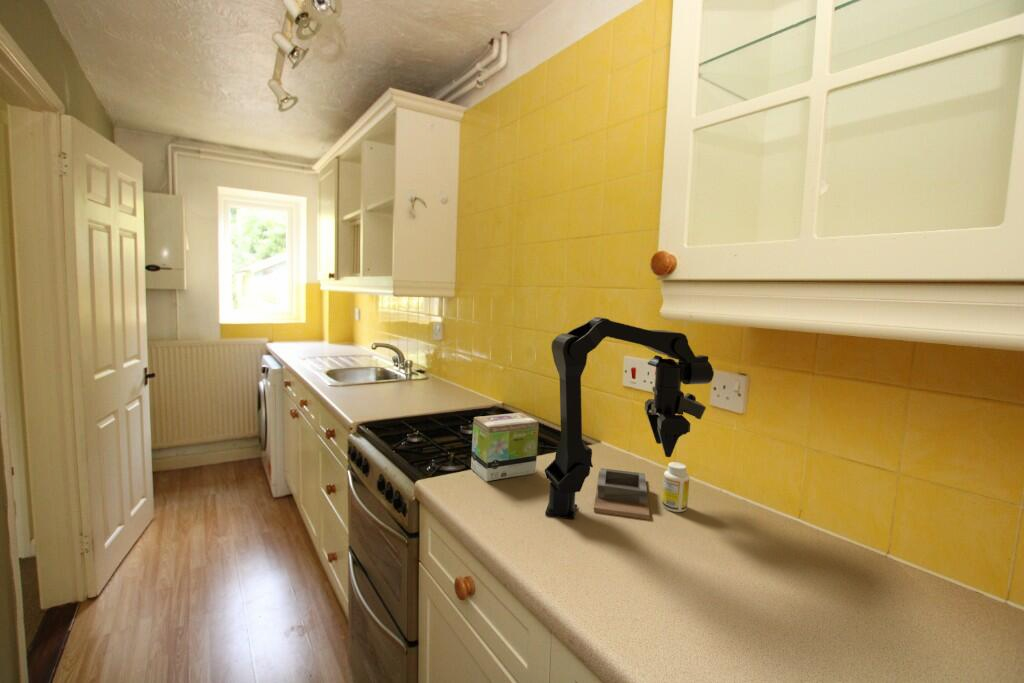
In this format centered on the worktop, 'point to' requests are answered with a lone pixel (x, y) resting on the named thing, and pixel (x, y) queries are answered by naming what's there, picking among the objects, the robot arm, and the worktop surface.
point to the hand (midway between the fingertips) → (663, 449)
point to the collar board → (622, 494)
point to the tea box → (504, 446)
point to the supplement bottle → (675, 487)
